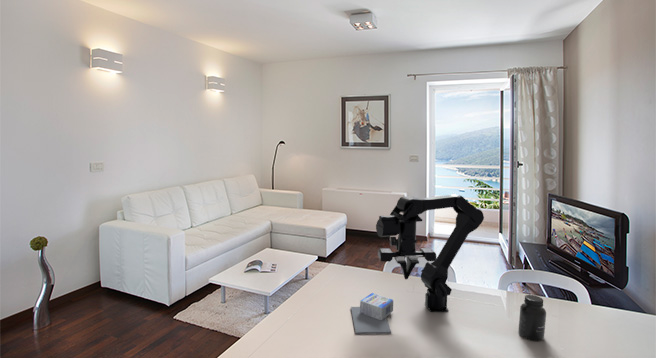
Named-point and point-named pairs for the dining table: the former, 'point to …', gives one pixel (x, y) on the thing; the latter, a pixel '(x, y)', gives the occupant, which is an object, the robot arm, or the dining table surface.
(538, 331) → the supplement bottle
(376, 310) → the medicine box
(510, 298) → the dining table surface
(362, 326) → the mat
